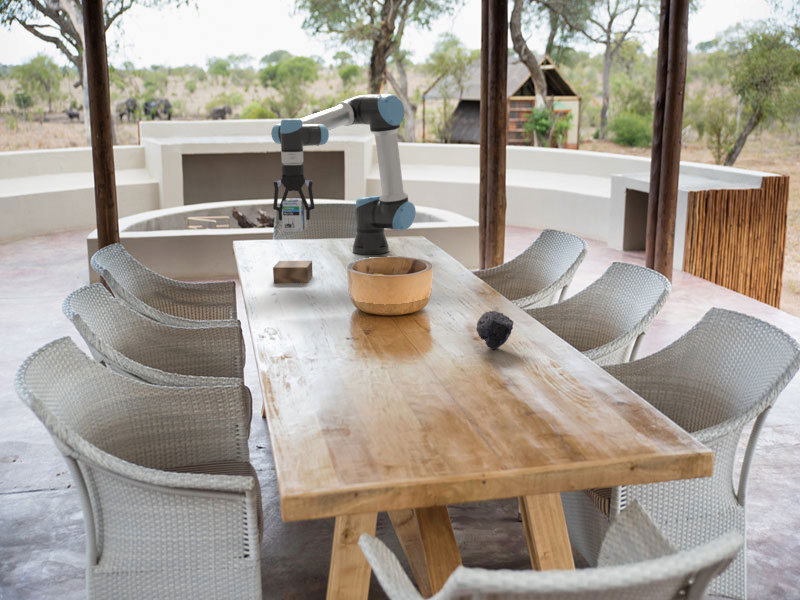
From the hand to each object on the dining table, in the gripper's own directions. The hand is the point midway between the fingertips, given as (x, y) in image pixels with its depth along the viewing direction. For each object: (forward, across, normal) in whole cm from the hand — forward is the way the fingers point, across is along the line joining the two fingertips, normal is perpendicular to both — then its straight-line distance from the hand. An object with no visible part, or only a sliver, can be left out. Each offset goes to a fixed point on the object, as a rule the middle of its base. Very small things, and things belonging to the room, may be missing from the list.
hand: (294, 229), depth 296 cm
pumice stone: (+19, +53, -93) cm, 109 cm away
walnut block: (+18, -1, -1) cm, 18 cm away
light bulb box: (0, 0, 0) cm, 0 cm away
